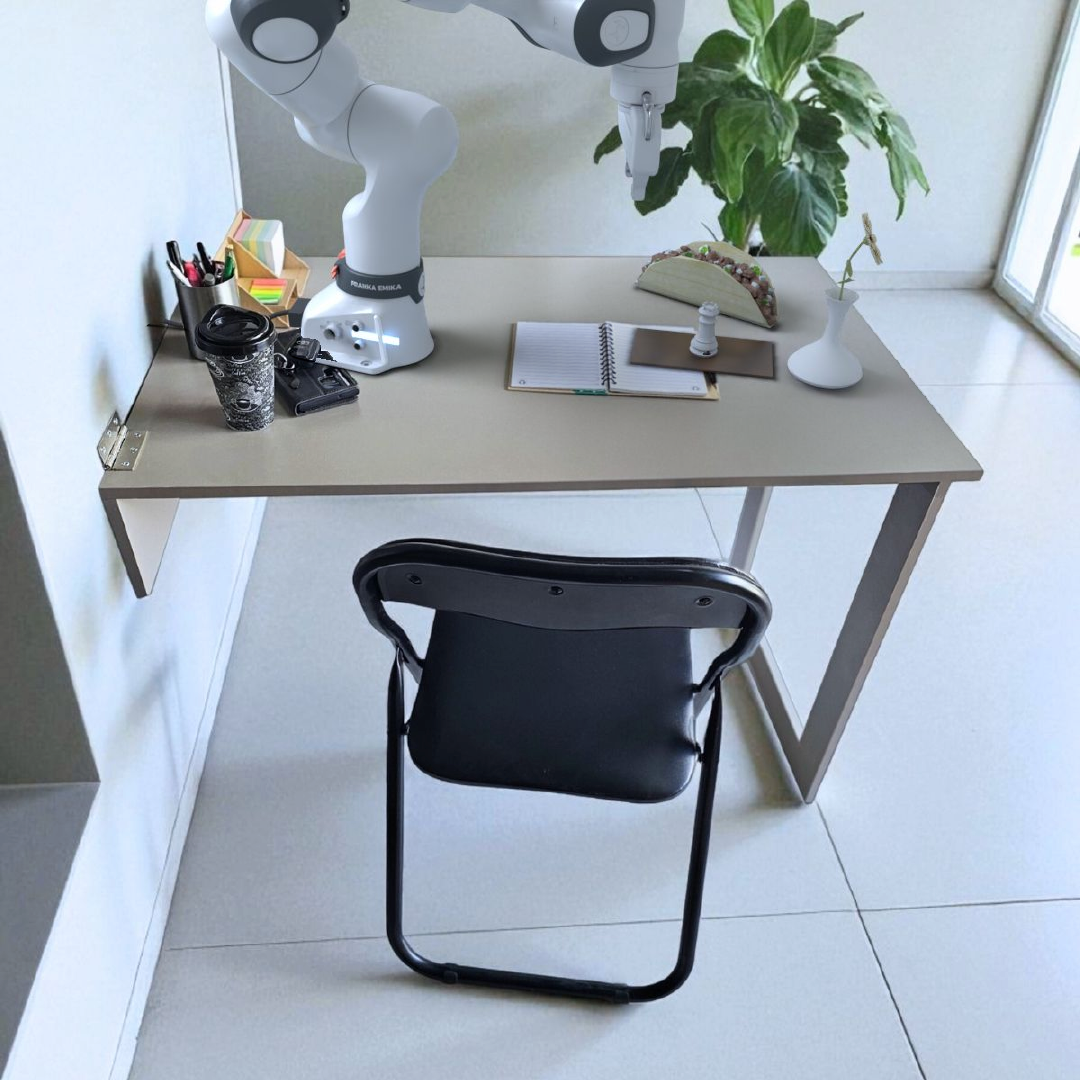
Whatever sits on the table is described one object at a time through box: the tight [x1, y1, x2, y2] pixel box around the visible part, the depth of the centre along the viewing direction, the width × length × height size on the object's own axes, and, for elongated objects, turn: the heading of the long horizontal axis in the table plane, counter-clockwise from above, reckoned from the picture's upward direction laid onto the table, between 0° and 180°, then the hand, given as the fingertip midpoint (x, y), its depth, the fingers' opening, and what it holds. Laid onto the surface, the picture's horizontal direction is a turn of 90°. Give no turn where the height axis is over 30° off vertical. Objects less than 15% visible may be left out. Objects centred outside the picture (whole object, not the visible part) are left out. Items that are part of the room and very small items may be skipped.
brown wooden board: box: [629, 327, 774, 380], centre depth 166 cm, size 22×12×1 cm, turn 81°
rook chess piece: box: [690, 302, 721, 358], centre depth 163 cm, size 4×4×8 cm
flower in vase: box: [786, 211, 884, 390], centre depth 154 cm, size 13×11×25 cm
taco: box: [634, 240, 779, 329], centre depth 177 cm, size 10×27×10 cm, turn 55°
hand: (634, 187), depth 147 cm, fingers open, 8 cm apart
